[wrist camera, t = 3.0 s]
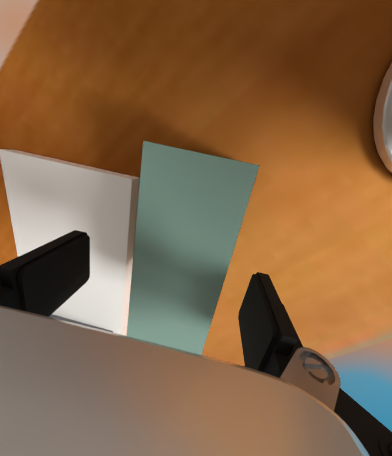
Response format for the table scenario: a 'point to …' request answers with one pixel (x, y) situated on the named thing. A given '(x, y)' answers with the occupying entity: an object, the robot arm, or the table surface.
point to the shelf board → (78, 227)
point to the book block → (184, 242)
